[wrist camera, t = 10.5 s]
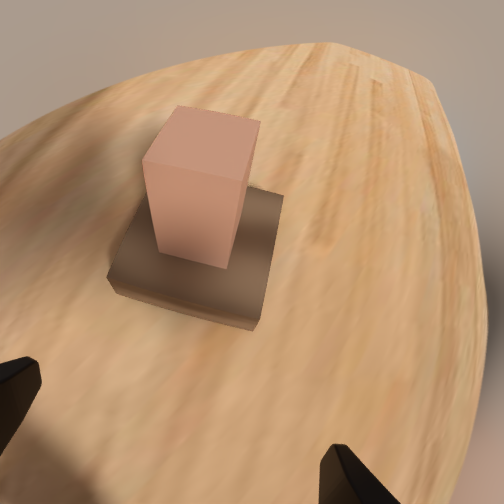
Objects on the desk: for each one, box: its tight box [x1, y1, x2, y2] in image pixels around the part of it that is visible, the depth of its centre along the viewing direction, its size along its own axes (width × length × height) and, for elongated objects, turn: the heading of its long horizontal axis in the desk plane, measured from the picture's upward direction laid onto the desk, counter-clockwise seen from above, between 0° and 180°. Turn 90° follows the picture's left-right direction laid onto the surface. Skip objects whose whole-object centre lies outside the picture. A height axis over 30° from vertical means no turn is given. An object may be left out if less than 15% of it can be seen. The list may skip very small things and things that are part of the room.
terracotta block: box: [142, 106, 261, 269], centre depth 19 cm, size 5×5×9 cm
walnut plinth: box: [107, 186, 284, 331], centre depth 24 cm, size 11×11×3 cm
